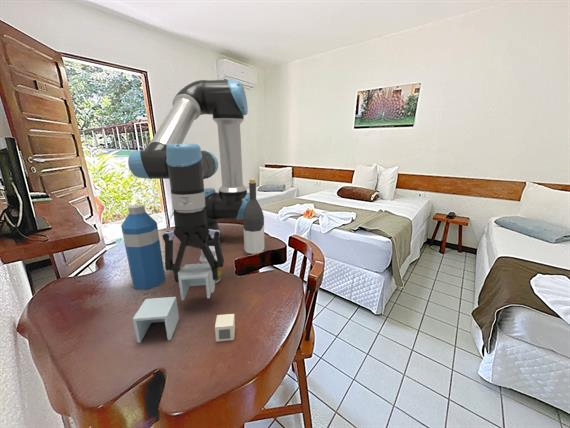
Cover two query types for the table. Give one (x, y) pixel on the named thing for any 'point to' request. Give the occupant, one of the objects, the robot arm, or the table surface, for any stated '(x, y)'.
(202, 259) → the pill bottle
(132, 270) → the water bottle
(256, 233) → the wine bottle
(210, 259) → the robot arm
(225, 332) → the letter cube
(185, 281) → the cover far
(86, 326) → the table surface
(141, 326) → the cover near
